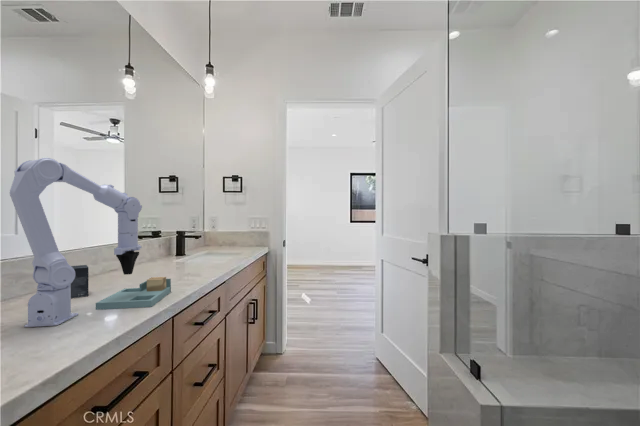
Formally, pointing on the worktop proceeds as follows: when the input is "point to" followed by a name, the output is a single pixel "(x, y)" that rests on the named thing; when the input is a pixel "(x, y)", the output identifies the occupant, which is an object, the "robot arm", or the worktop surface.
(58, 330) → the worktop surface
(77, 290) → the box
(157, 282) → the block
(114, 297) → the trap deck
